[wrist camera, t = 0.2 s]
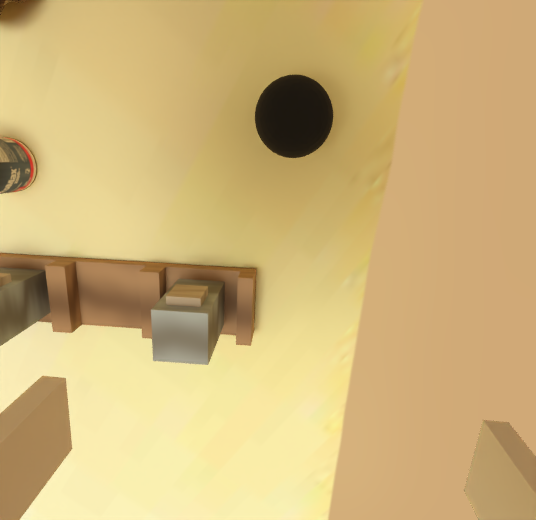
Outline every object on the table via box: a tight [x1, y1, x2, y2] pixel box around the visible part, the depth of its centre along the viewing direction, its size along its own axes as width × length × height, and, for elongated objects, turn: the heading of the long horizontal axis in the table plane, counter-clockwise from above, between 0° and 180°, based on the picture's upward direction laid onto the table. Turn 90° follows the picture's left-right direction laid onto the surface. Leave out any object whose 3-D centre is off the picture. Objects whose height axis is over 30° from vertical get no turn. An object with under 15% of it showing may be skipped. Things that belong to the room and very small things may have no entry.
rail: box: [0, 253, 256, 365], centre depth 37 cm, size 7×30×9 cm, turn 88°
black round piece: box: [255, 75, 333, 158], centre depth 31 cm, size 6×6×10 cm
